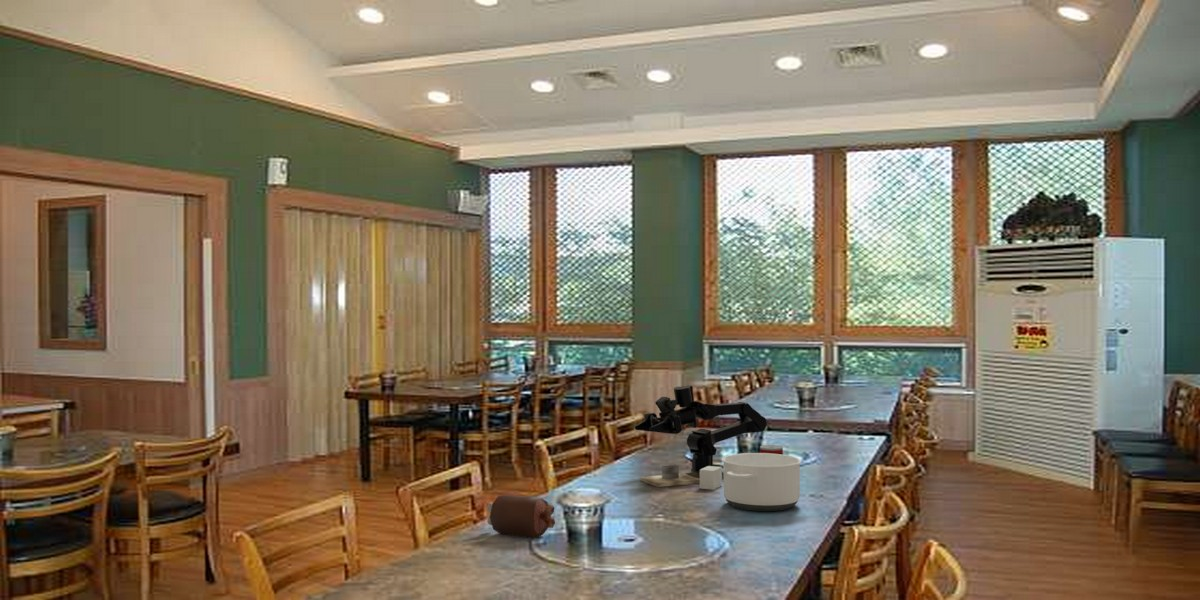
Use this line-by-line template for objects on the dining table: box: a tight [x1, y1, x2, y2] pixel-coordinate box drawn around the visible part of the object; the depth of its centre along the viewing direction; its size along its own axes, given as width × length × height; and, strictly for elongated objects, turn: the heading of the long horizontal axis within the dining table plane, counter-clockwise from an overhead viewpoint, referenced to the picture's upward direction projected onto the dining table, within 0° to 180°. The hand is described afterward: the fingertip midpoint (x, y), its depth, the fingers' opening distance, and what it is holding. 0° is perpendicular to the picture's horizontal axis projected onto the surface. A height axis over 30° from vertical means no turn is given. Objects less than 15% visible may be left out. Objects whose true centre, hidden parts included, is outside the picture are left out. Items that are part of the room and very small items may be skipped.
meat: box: [486, 494, 556, 539], centre depth 243 cm, size 20×12×10 cm, turn 63°
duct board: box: [640, 464, 700, 488], centre depth 314 cm, size 16×12×5 cm
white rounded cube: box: [699, 465, 723, 491], centre depth 305 cm, size 8×5×6 cm, turn 153°
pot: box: [721, 452, 802, 512], centre depth 277 cm, size 33×23×14 cm
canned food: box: [759, 444, 784, 455], centre depth 318 cm, size 8×8×11 cm
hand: (642, 429), depth 319 cm, fingers open, 9 cm apart
